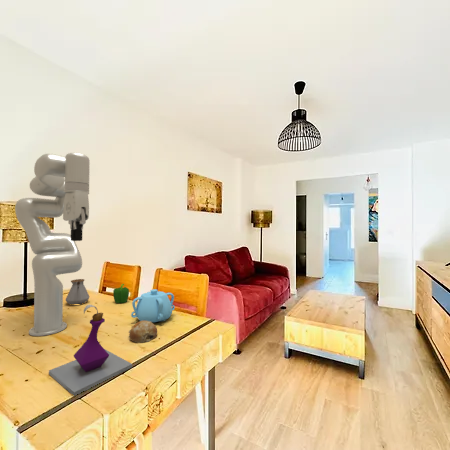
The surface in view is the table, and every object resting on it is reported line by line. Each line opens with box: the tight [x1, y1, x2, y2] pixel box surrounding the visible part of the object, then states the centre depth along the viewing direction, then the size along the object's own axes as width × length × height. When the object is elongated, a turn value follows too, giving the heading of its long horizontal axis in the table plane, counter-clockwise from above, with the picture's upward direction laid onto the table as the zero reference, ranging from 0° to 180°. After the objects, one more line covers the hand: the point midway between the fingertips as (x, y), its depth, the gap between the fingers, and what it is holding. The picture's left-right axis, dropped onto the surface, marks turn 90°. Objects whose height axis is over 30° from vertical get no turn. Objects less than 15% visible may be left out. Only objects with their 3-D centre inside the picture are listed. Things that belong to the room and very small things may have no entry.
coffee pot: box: [65, 278, 90, 305], centre depth 134 cm, size 21×12×15 cm, turn 31°
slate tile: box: [48, 348, 133, 397], centre depth 72 cm, size 16×16×1 cm
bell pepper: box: [112, 283, 130, 304], centre depth 140 cm, size 8×8×10 cm
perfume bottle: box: [73, 304, 109, 372], centre depth 72 cm, size 8×8×18 cm
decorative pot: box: [130, 288, 176, 323], centre depth 113 cm, size 16×16×14 cm
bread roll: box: [128, 320, 158, 344], centre depth 94 cm, size 10×10×8 cm
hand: (76, 240), depth 88 cm, fingers closed
